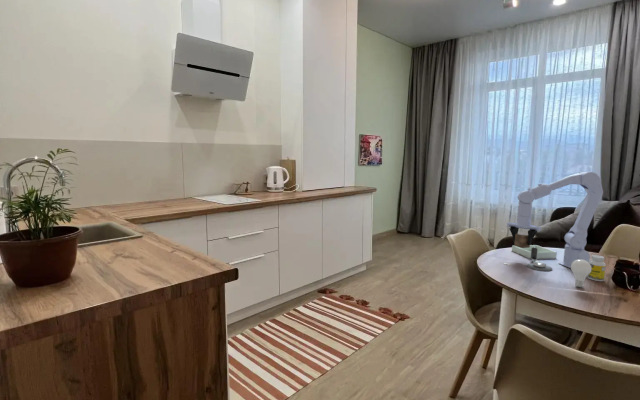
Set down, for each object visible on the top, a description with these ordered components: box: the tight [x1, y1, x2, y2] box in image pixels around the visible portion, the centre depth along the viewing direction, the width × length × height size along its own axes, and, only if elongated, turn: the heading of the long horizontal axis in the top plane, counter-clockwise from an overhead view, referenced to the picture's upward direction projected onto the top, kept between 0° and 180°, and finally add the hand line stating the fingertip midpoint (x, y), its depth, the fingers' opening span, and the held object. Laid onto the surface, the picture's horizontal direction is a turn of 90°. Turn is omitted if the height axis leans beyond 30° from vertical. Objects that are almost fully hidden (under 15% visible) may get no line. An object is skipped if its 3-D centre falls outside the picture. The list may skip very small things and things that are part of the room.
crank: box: [530, 247, 547, 268], centre depth 161 cm, size 14×5×7 cm, turn 161°
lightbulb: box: [570, 259, 592, 288], centre depth 132 cm, size 6×6×11 cm
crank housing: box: [503, 262, 553, 272], centre depth 158 cm, size 20×10×1 cm, turn 71°
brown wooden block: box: [513, 232, 530, 248], centre depth 166 cm, size 4×4×6 cm
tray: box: [511, 244, 558, 260], centre depth 178 cm, size 14×14×4 cm
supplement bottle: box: [587, 254, 607, 282], centre depth 142 cm, size 5×5×10 cm
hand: (522, 243), depth 166 cm, fingers closed on brown wooden block, 6 cm apart
